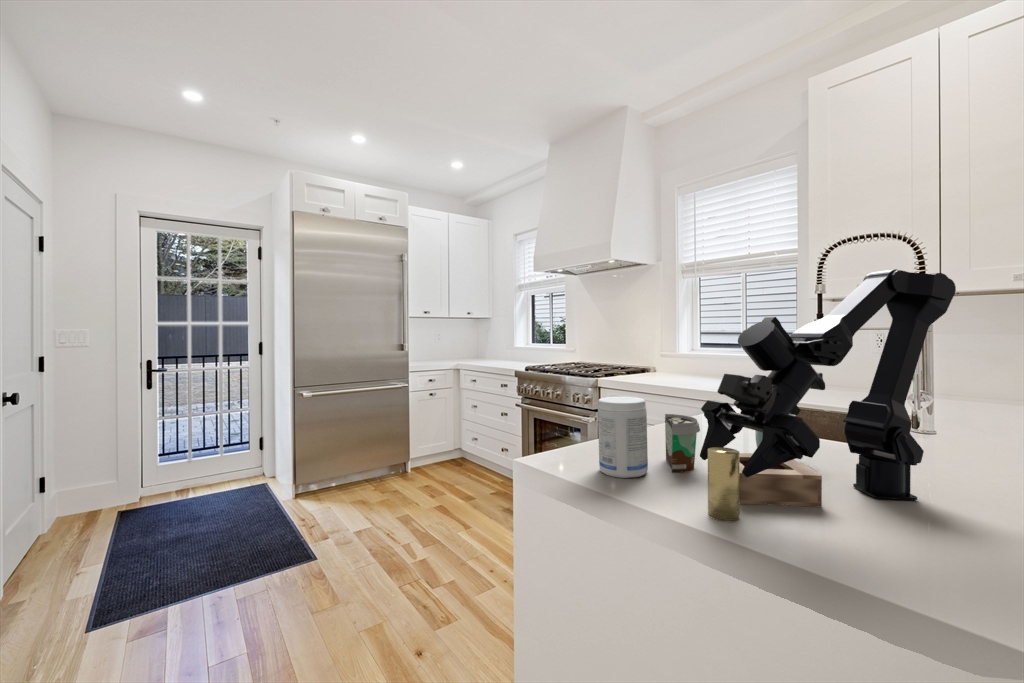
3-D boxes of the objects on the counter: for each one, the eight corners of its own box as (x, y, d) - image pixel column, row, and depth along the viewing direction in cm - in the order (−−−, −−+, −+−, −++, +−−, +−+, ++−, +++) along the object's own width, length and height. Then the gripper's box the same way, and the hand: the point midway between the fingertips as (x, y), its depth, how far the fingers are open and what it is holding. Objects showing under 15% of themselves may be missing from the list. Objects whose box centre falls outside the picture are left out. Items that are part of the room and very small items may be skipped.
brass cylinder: (733, 511, 72) (733, 447, 72) (744, 522, 68) (743, 454, 68) (704, 509, 73) (704, 446, 73) (712, 521, 68) (712, 454, 68)
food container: (706, 476, 89) (706, 425, 89) (672, 474, 91) (672, 424, 90) (694, 459, 101) (694, 414, 101) (665, 458, 103) (664, 413, 102)
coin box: (785, 480, 86) (785, 454, 86) (821, 506, 73) (821, 475, 73) (712, 478, 88) (712, 452, 88) (735, 503, 75) (735, 473, 75)
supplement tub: (645, 466, 97) (645, 396, 96) (650, 480, 87) (649, 403, 87) (598, 464, 98) (597, 395, 98) (598, 478, 89) (597, 402, 89)
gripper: (710, 353, 80) (654, 419, 77) (804, 358, 62) (734, 445, 59) (748, 396, 82) (694, 462, 80) (848, 414, 64) (784, 500, 62)
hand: (721, 466), depth 70 cm, fingers open, 9 cm apart
